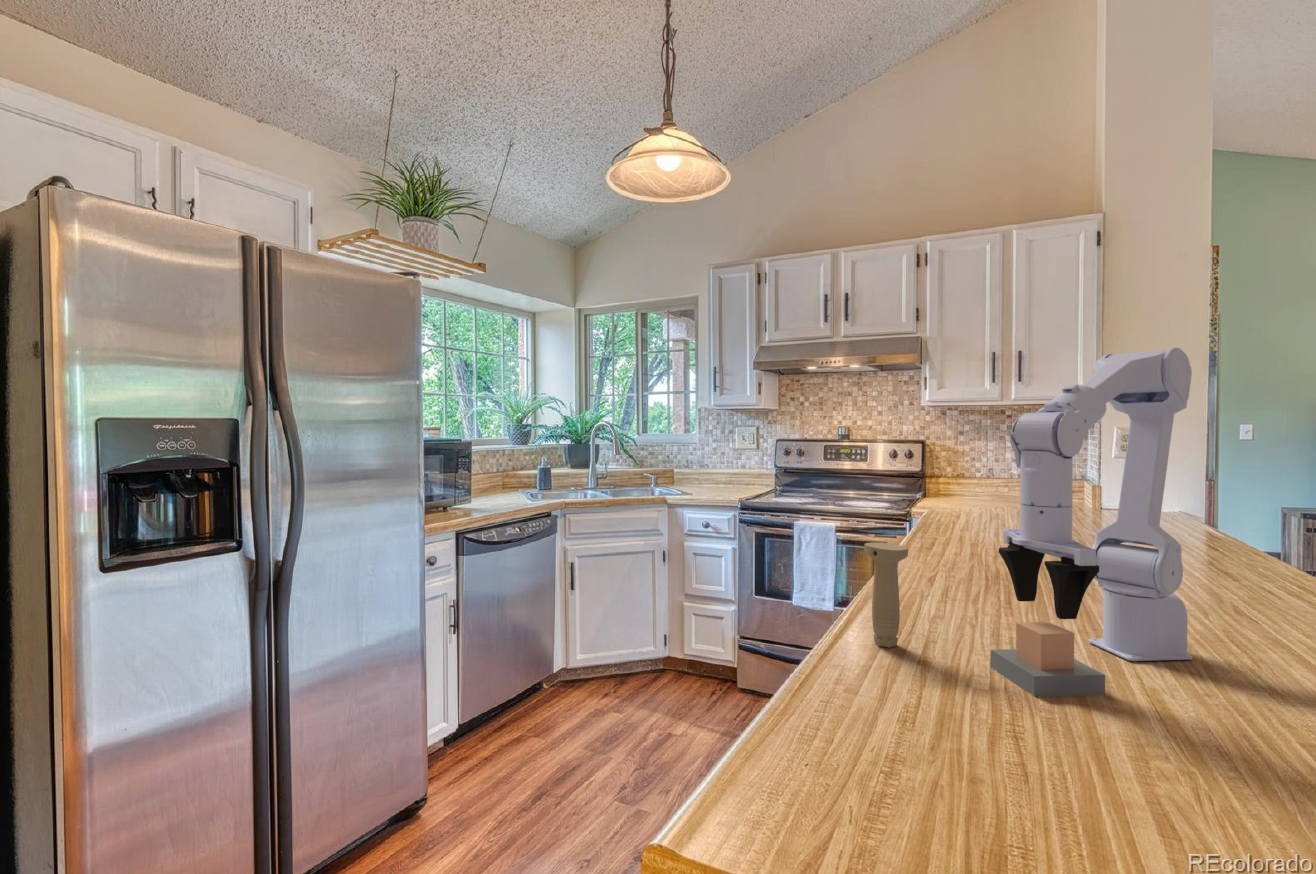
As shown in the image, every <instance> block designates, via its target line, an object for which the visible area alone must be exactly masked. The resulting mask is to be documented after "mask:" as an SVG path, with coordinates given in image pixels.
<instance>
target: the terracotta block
mask: <svg viewBox="0 0 1316 874" xmlns="http://www.w3.org/2000/svg"><path fill="white" fill-rule="evenodd" d="M1015 624H1016V625H1015V626H1016V628H1015V630H1016V633H1015V634H1016V636H1015V637H1016V639H1015V642H1016V643H1015V647H1016V648H1015V649H1016V657H1018V658H1020V659H1022V660H1023V661H1025V662H1027V663H1029V664H1031V665H1033V666H1035V667H1036V668H1038V669H1040V670H1049V669H1072V668H1074V659H1075V632H1073V631H1070V630H1069V629H1066V628H1064V627H1061V626H1059V625H1057V624H1054V623H1051V622H1049V621H1033V622H1032V621H1029V622H1016V623H1015Z"/></svg>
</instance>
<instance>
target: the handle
mask: <svg viewBox="0 0 1316 874" xmlns="http://www.w3.org/2000/svg"><path fill="white" fill-rule="evenodd" d="M863 545H864V546H863V547H864V549H863V550H864V553H865V554H866V555H868V556H869V557H870V558H872V560H873V566H874V567H873V585H872V599H871V600H872V601H871V618H872V619H871V620H872V629H873V630H872V631H873V640H874V643H875V644H876V645H877V646H878V647H881V648H883V647H884V648H887V649H888V648H889V649H891V648H894V647H896V646H897V645H898V641H899V640H898V639H899V638H898V637H897V636H898V635H899V628H900V619H901V618H900V616H901V614H900V611H901V608H900V607H901V603H900V593H899V592H900V591H899V590H900V589H899V588H900V587H899V573H898V572H899V570H898V568H899V562H900V561H902V560H903V561H904V560H905V559H906V558H907V557H908V556H909V547H906V546H904V545H900V544H895V543H889V542H881V541H880V542H876V541H875V542H866V543H864V544H863Z"/></svg>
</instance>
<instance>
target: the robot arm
mask: <svg viewBox="0 0 1316 874" xmlns="http://www.w3.org/2000/svg"><path fill="white" fill-rule="evenodd" d="M1094 369H1095V370H1094V374H1092V376H1090V378H1089V379H1088V380H1087V381H1086V382H1085V383H1084V384H1067V385H1064V386H1063V388H1061V390H1062V391H1061V392H1060V393H1059V394H1057V395H1056V396H1055V397H1054V398H1053V399H1051V400H1050V401H1047V402H1046V403H1044V404H1043V406H1042V407H1041V408H1040V409H1038V410H1037V411H1036V412H1025V413H1023V414H1021V416H1020V417H1017V419H1016V420H1015V421H1014V422H1013V424H1012V426H1011V427H1012V428H1011V431H1010V432H1011V433H1009V442H1010V445H1011V448H1012V450H1013V452H1014V458H1015V459H1014V460H1015V463H1014V464H1015V465H1016V467H1017V468H1018V469H1019V475H1020V476H1019V478H1020V480H1019V499H1020V500H1019V517H1020V518H1019V529H1017V528H1016V529H1015V528H1014V529H1013V528H1011V529H1010V528H1009V529H1004V528H1003V543H1004V544H1006V545H1007V547H999V548H998V553H999V555H1000V556H1001V558H1002V561H1003V562H1004V563H1005V565H1006V568H1007V570H1008V573H1009V576H1010V579H1011V583H1012V586H1013V589H1014V593H1015V597H1016V600H1017V601H1018V602H1035V601H1036V597H1037V591H1038V579H1039V574H1040V568H1041V565H1042V562H1043V559H1044V557H1045V555H1048V556H1052V557H1054V558H1058V559H1060V560H1045V561H1044V566H1045V568H1046V571H1047V572H1048V576H1049V578H1050V582H1051V586H1052V593H1053V602H1054V605H1053V606H1054V611H1055V615H1056V618H1057V619H1060V620H1076V619H1077V618H1078V614H1079V611H1080V608H1081V605H1082V601H1083V599H1084V596H1085V594H1086V591H1087V590H1088V587H1089V586H1090V584H1091V583H1092V581H1094V580H1095V581H1096V582H1097V585H1098V587H1099V588H1103V592H1102V593H1103V598H1102V600H1103V603H1102V604H1103V605H1102V606H1103V609H1102V610H1103V612H1102V614H1103V616H1102V637H1101V638H1098V637H1097V638H1088V639H1087V642H1088V643H1089V644H1092V645H1093V646H1096V647H1098V648H1101V649H1102V650H1105V651H1107V652H1110V653H1112V654H1114V655H1116V656H1118V657H1120V658H1123V659H1124V660H1127V661H1130V662H1138V661H1139V662H1141V661H1142V662H1144V661H1145V662H1147V661H1183V660H1193V658H1194V657H1193V656H1192V655H1191V654H1188V611H1187V608H1186V605H1185V604H1184V602H1183V601H1182V599H1181V598H1180V597H1179V596H1178V595H1177V594H1176V591H1178V589H1179V588H1180V586H1181V584H1182V582H1183V577H1184V567H1183V562H1182V553H1183V552H1182V545H1181V544H1180V543H1179V541H1178V540H1177V539H1175V538H1174V537H1173V536H1172V535H1171V534H1169V533H1168V532H1167V531H1166V530H1165V529H1163V527H1161V526H1160V523H1161V515H1162V508H1163V501H1164V492H1165V486H1166V479H1167V478H1166V477H1167V470H1168V463H1169V455H1170V450H1171V449H1170V447H1171V439H1172V432H1173V427H1174V426H1173V425H1174V419H1175V418H1174V417H1175V415H1176V414H1177V413H1178V412H1181V411H1183V410H1185V409H1187V406H1188V400H1189V396H1190V389H1191V383H1192V371H1193V370H1192V365H1191V363H1190V360H1189V357H1188V355H1187V354H1186V352H1185V351H1183V350H1182V349H1181V348H1180V347H1170V348H1167V349H1158V350H1157V349H1156V350H1147V351H1136V352H1126V353H1125V352H1124V353H1115V354H1113V353H1106V354H1104V355H1103V356H1102V357H1101V358H1100V359H1097V360H1096V362H1095V368H1094ZM1107 403H1110V405H1111V406H1112V407H1113V409H1114V411H1116V412H1119V413H1123V414H1125V415H1127V417H1128V418H1129V419H1130V421H1129V422H1130V423H1129V430H1128V437H1127V444H1126V451H1125V460H1124V467H1123V473H1122V479H1121V480H1122V481H1121V488H1120V494H1119V495H1120V496H1119V501H1118V502H1119V503H1118V510H1117V516H1116V520H1115V521H1114V522H1112V523H1110V524H1108V525H1107V526H1105V527H1103V528H1101V529H1098V531H1097V532H1096V535H1095V539H1094V542H1093V546H1092V547H1088V546H1086V545H1084V544H1082V543H1080V542H1078V541H1076V540H1074V539H1073V457H1075V456H1076V455H1079V453H1080V452H1081V450H1082V447H1083V444H1084V440H1085V438H1086V437H1087V434H1088V431H1089V430H1090V429H1091V428H1093V426H1095V425H1096V424H1097V423H1098V422H1099V421H1100V420H1102V419H1103V417H1104V416H1105V415H1106V411H1107ZM1125 543H1129V544H1125ZM1131 544H1136V545H1131ZM1137 544H1138V545H1144V546H1145V547H1144V546H1137ZM1146 546H1149V547H1146ZM1152 547H1155V548H1152Z"/></svg>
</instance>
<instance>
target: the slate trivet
mask: <svg viewBox="0 0 1316 874" xmlns="http://www.w3.org/2000/svg"><path fill="white" fill-rule="evenodd" d="M989 666H990V667H991V668H990V669H992V668H993V669H994V670H993V669H992V670H993V671H995V670H996V671H997V672H996V671H995V672H996V673H998V674H999V673H1000V674H999V675H1000V676H1002V675H1003V676H1002V677H1004V678H1005V679H1006V680H1008V681H1010V682H1011V683H1012V684H1014V685H1016V686H1017V687H1018V688H1021V689H1022V690H1023V689H1024V691H1025V692H1026V693H1028V694H1029V693H1030V694H1029V695H1031V694H1032V695H1033V697H1036V696H1037V697H1038V696H1040V697H1069V696H1070V697H1071V696H1073V697H1074V696H1075V697H1076V696H1079V697H1080V696H1105V695H1106V674H1104V673H1103V672H1101V671H1098V670H1097V669H1095V668H1092V667H1091V666H1088V665H1087V664H1085V663H1083V662H1081V661H1080V660H1078V659H1075V658H1074V668H1072V669H1049V670H1040V669H1038V668H1036V667H1035V666H1033V665H1031V664H1029V663H1027V662H1025V661H1023V660H1022V659H1020V658H1018V657H1016V648H1014V649H1013V648H1011V649H1010V648H1008V649H1005V648H1004V649H990V665H989ZM1032 695H1031V696H1032Z"/></svg>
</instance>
